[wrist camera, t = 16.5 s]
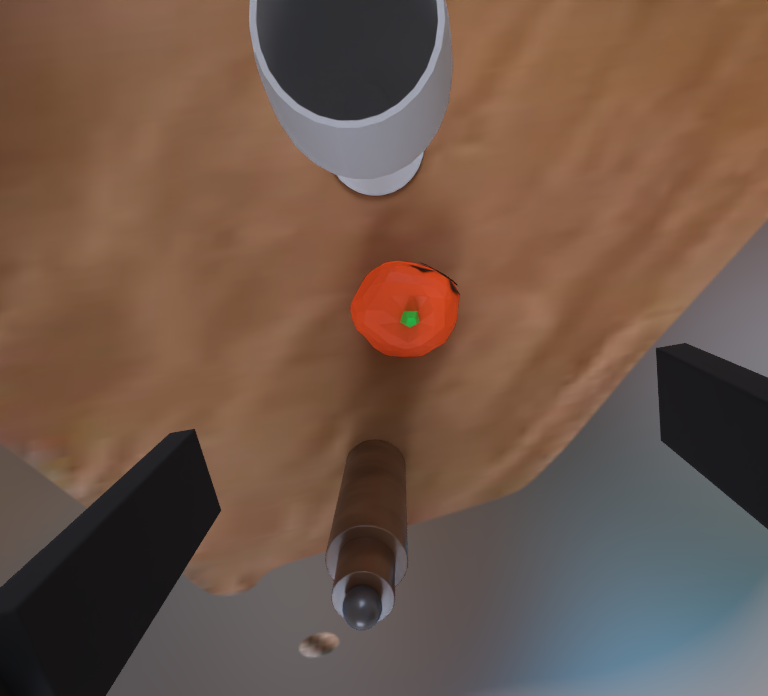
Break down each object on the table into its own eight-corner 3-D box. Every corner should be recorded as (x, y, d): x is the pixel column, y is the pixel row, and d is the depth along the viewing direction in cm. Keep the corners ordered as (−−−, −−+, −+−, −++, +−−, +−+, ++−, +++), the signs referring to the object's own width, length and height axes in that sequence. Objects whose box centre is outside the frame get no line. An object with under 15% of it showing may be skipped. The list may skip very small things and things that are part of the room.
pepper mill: (376, 428, 40) (361, 564, 24) (417, 468, 41) (430, 626, 25) (333, 464, 41) (291, 619, 25) (374, 503, 42) (359, 678, 26)
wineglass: (433, 94, 33) (494, -117, 13) (419, 204, 35) (452, 171, 15) (328, 80, 33) (224, -151, 13) (319, 192, 35) (216, 142, 15)
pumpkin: (354, 257, 36) (345, 263, 30) (457, 261, 36) (469, 268, 30) (353, 346, 38) (344, 369, 32) (451, 350, 38) (461, 374, 32)
